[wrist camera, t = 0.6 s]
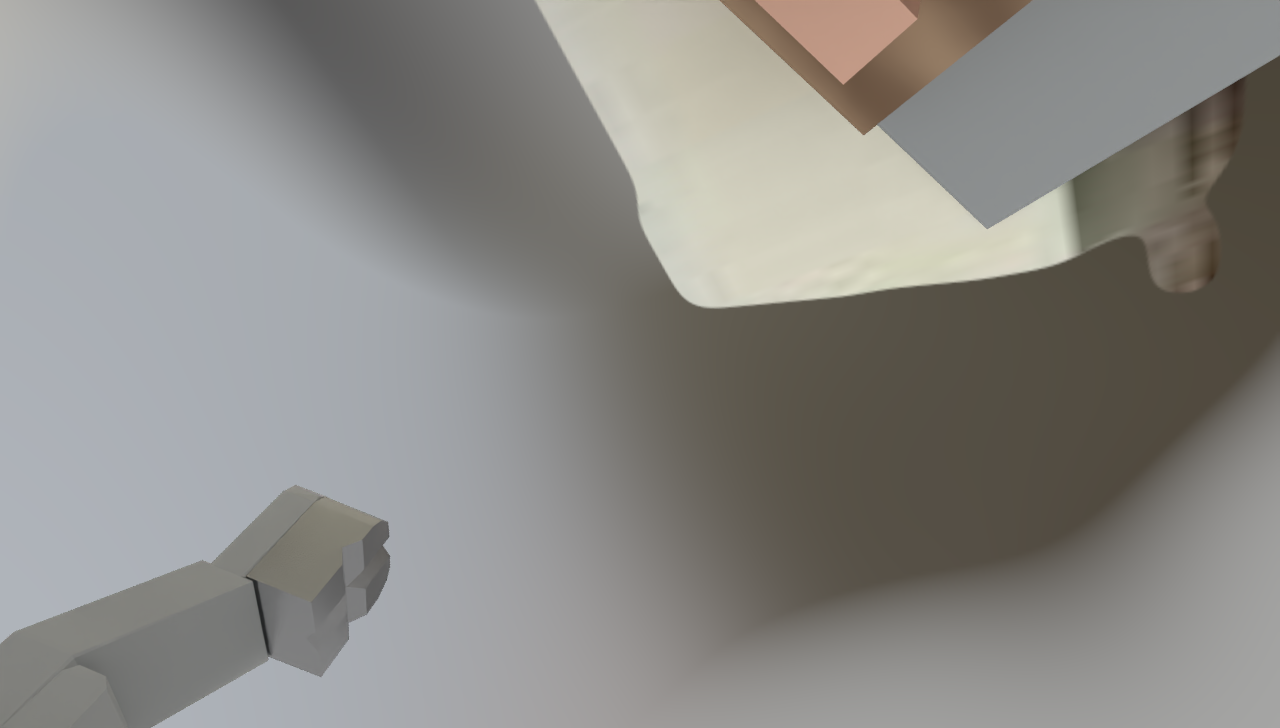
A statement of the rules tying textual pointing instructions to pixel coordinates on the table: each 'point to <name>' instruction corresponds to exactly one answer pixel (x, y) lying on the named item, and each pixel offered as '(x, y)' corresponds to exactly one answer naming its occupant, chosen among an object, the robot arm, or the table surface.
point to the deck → (887, 54)
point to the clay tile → (843, 28)
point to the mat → (1073, 91)
